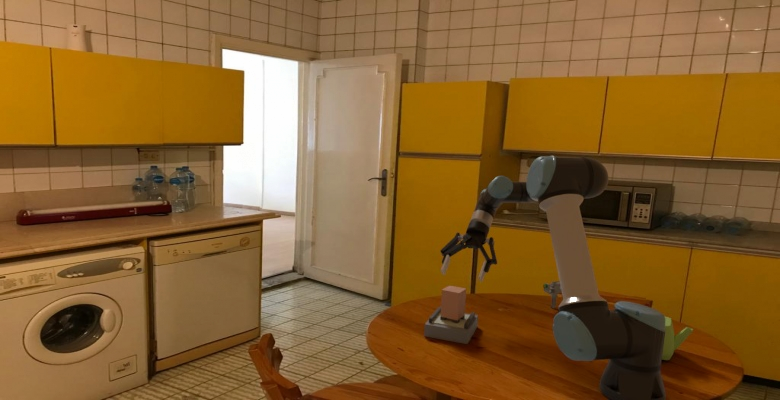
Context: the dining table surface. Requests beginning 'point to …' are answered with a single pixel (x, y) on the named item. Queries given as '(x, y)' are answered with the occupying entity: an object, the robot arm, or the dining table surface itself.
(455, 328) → the step
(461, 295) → the block
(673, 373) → the dining table surface
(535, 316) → the dining table surface
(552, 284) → the mechanical component
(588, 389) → the dining table surface
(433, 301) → the dining table surface
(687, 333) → the teapot
